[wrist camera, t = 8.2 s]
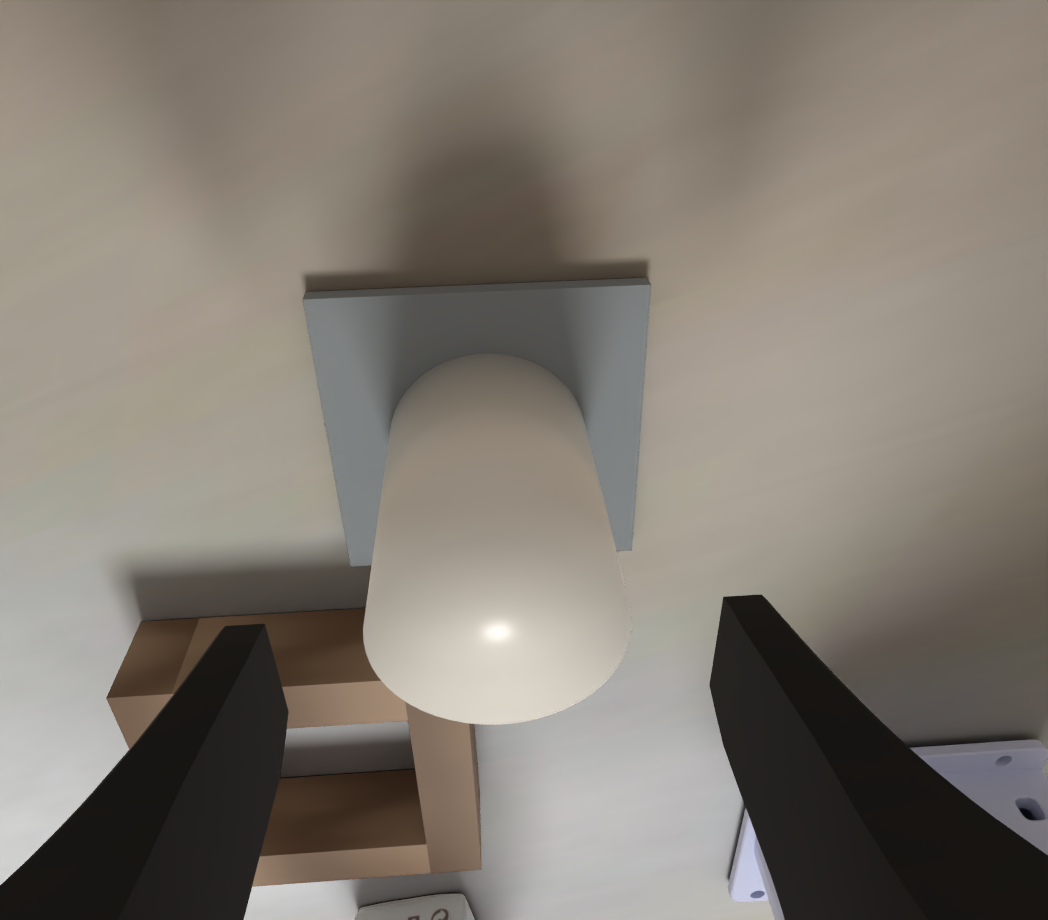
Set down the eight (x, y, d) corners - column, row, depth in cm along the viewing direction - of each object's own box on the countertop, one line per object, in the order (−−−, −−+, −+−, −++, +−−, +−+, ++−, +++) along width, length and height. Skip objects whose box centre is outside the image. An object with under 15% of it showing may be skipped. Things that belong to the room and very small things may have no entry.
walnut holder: (464, 602, 21) (465, 675, 19) (479, 794, 26) (481, 869, 24) (141, 621, 21) (106, 698, 19) (215, 812, 26) (193, 890, 24)
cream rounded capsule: (591, 352, 17) (645, 527, 12) (579, 516, 20) (620, 719, 15) (382, 354, 17) (350, 535, 12) (396, 521, 19) (374, 729, 14)
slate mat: (647, 277, 17) (651, 285, 16) (629, 540, 21) (632, 550, 20) (305, 291, 16) (302, 299, 16) (352, 556, 20) (350, 566, 20)
